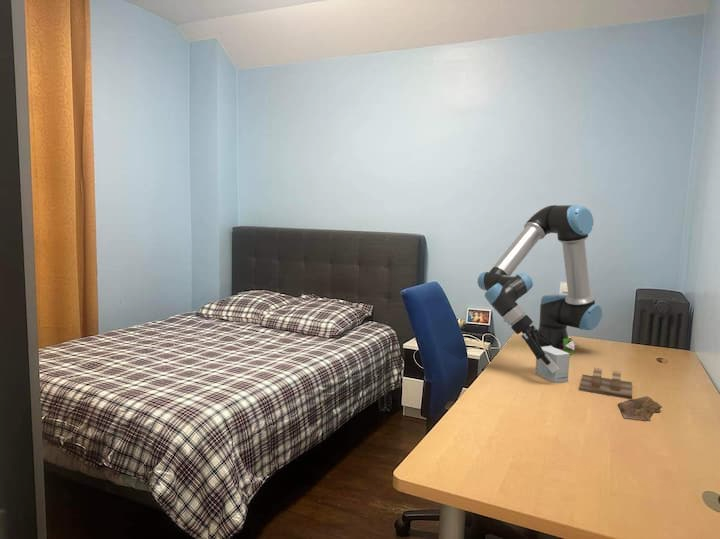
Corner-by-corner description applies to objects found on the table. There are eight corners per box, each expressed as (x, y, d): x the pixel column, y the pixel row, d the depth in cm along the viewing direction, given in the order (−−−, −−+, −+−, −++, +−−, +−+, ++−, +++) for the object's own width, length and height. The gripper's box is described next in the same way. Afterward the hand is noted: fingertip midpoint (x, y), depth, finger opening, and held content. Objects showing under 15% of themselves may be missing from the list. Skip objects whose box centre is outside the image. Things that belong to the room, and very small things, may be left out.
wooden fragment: (646, 426, 145) (646, 422, 145) (605, 414, 153) (606, 411, 153) (670, 403, 163) (670, 400, 163) (633, 394, 171) (633, 391, 171)
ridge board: (582, 377, 187) (583, 363, 186) (631, 384, 179) (632, 371, 179) (578, 390, 172) (579, 375, 172) (631, 399, 165) (633, 384, 165)
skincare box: (534, 374, 189) (536, 346, 187) (548, 372, 191) (550, 345, 190) (554, 383, 179) (556, 354, 178) (568, 381, 181) (570, 353, 180)
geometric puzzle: (553, 345, 222) (561, 334, 217) (566, 344, 224) (575, 333, 219) (561, 358, 217) (570, 347, 212) (574, 357, 219) (583, 346, 214)
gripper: (516, 320, 201) (554, 363, 196) (503, 332, 179) (545, 381, 174) (531, 308, 198) (570, 351, 193) (519, 320, 176) (562, 369, 171)
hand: (558, 366), depth 183 cm, fingers open, 13 cm apart
